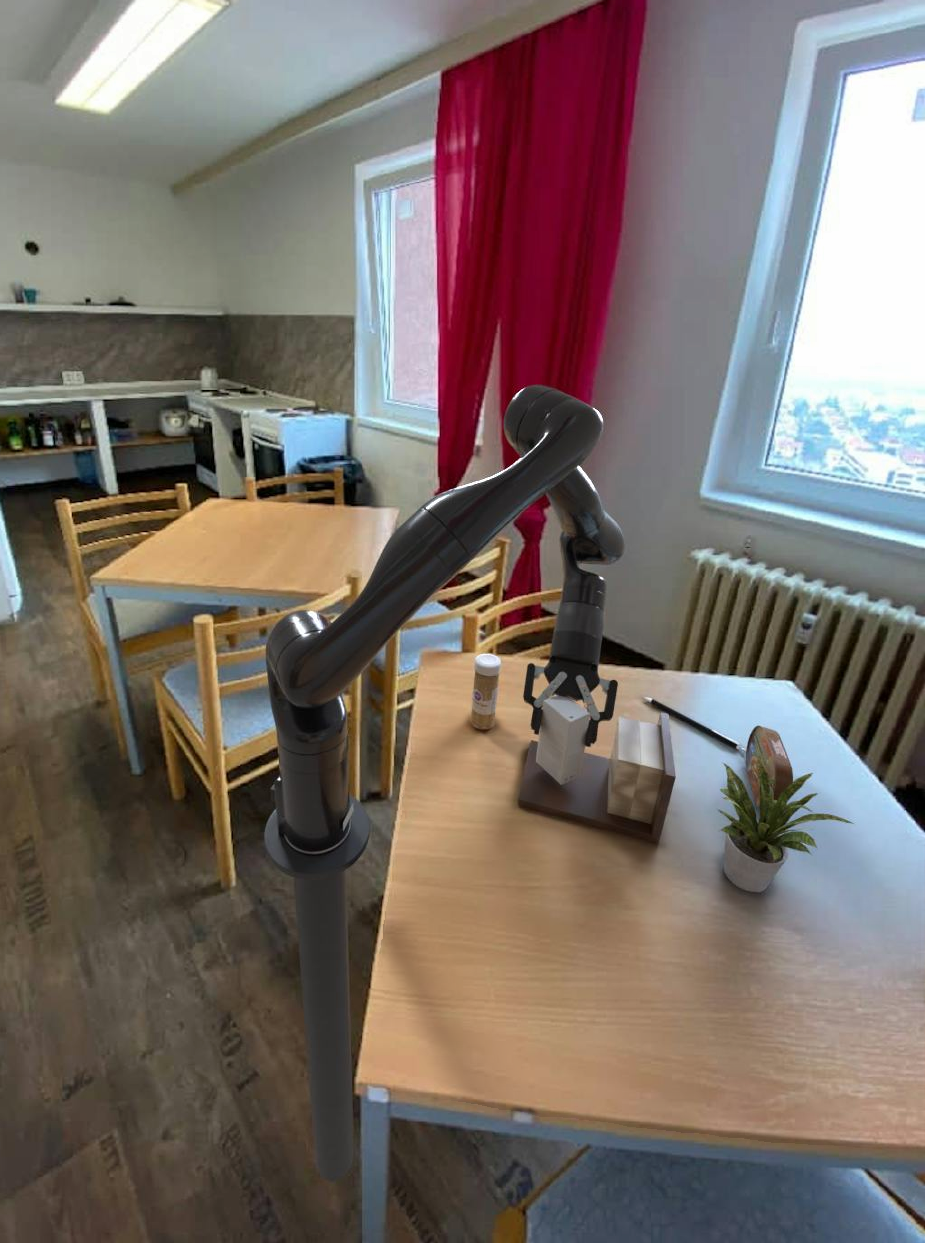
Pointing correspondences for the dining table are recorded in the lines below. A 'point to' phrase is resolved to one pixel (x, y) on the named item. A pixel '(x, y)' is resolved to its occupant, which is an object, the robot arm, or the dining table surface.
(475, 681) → the sprinkles bottle
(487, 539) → the robot arm
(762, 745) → the tin
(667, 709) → the pen
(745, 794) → the house plant
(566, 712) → the cosmetic box
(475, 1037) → the dining table surface
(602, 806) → the book rack
